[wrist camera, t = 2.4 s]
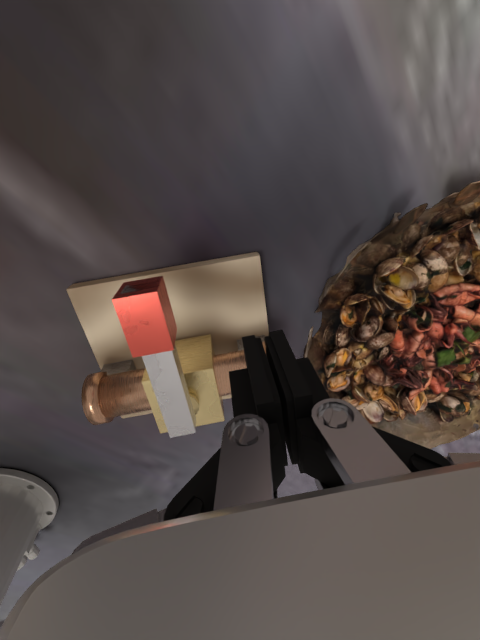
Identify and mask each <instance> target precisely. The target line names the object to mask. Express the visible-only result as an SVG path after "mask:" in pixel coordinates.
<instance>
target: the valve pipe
mask: <svg viewBox="0 0 480 640" xmlns="http://www.w3.org/2000/svg"><path fill="white" fill-rule="evenodd" d="M255 337H256V338H259V337H260V338H261V341H262V344H263V347H264V350H265V353H266V348H265V340H264V337H265V335H260V336H255ZM237 345H238V351H233V352H228V353H223V354H217V355H215V352H214V347H213V343H212V338H211V334H209V335H204V336H198V337H193V338H187V339H182V340H177V341H175V346H176V349H177V353H178V356H179V360H180V363H181V367H182V370H183V374H184V377H185V381H186V385H187V388H188V392H189V395H190V399H191V402H192V406H193V409H194V413H195V416H196V426H201V425H206V424H211V423H216V422H221V421H225V420H224V409H223V398H222V396H226V395H231V388H230V379H229V371H234V370H239V369H245V368H247V367H246V361H245V355H244V348H243V342H242V339H239V340H237ZM82 405H83V410H84V413H85V415H86V418H87V419H88V421H89V422H90V423H91V424H93V425H98V424H103V423H109V422H111V421H112V420H113V419H114V417H117V416H122V415H127V414H132V413H137V412H143V411H148V410H152V412H153V415H154V417H155V420H156V423H157V426H158V428H159V431H160V433H165V432H168V430H167V427H166V424H165V422H164V419H163V416H162V413H161V410H160V407H159V404H158V402H157V399H156V396H155V393H154V390H153V387H152V384H151V381H150V379H149V376H148V373H147V370H146V368H143V369H137V370H136V367H135V364H134V362H133V359H131V360H126V361H120V362H115V363H110V364H104V365H103V367H102V369H101V371H100V372H99V373H93V374H89V375H88V376H87V377H86V379H85V381H84V383H83V387H82Z"/></svg>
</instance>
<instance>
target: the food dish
mask: <svg viewBox="0 0 480 640" xmlns="http://www.w3.org/2000/svg"><path fill="white" fill-rule="evenodd" d="M427 206H428V203H426V204H423V205H420V206H419V207H417V208H414V209H413V210H411V211H410V212H408V213H406V214H405V215H404V216H403V217H402V218H401V219H400V220H399V219H398V216H399V215H401V213H395V214H394V217H393V219H392V220H391V223H390V224H389V225H388V226H387V227H386V228H385V229H384V230H383V231H381V232H379V233H378V234H376V235H375V236H374V237H373V238H372V239H371V240H369V241H367V242H365V243H363V244H360V245H359V246H358V247H357V248H356V249H354V251H352V252H351V253H350V255H349V256H348V257H347V262H346V265H345V267H344V268H343V269H342V270H341V271H340V272H339V273H338V274H336V275H335V276H333V277H331V278H329V279H328V281H327V282H326V284H325V287H324V290H323V292H322V295H321V296H320V298H319V307H318V309H317V310H316V311H315V312H320V311H322V323H321V327H320V329H319V330H318V332H317V333H316V335H315V336H314V337H313V338H312V332H313V326H312V328H311V329H310V332H309V336H308V342H307V345H306V346H305V350H304V355H303V356H304V358H306V357H307V358H309V360H310V362H311V363H312V365H313V367H314V369H315V371H316V373H317V375H318V376H319V378H320V380H321V382H322V384H323V386H324V388H325V389H326V391H327V393H328V395H329V397H330V398H334V399H341V400H345V401H347V402H349V403H351V404H352V405H353V406H354V407H355V408H356V409H357V410H358V411H359V412H360V413H361V414H362V416H363V417H364V418H365V419H366V420H367V421H368V423H369V424H370V425H371V426H373V427H375V428H378V429H381V430H383V431H386V432H388V433H391V434H393V435H396V436H398V437H401V438H403V439H406V440H408V441H411V442H413V443H416V444H419V445H421V446H424V447H426V448H429V449H431V448H433V447H436V446H438V445H440V444H445V443H449V442H452V441H455V440H458V439H461V438H463V437H465V436H467V435H469V434H470V433H473V432H475V431H477V430H479V429H480V181H478V182H473V183H470V184H469V185H467V186H466V187H465V188H463V189H462V190H461V191H460V192H457V193H453V194H451V195H449V196H448V197H446V198H444V199H442V200H441V201H440V202H439V203H437V204H436V205H434V206H433V207H432V208H429V209H426V207H427ZM425 209H426V210H425Z"/></svg>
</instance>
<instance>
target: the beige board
mask: <svg viewBox="0 0 480 640" xmlns="http://www.w3.org/2000/svg"><path fill="white" fill-rule="evenodd" d="M158 276H163V278H164V282H165V285H166V289H167V293H168V296H169V300H170V304H171V307H172V311H173V315H174V318H175V322H176V326H177V333H176V340H175V341H177V340H182V339H187V338H193V337H198V336H204V335H209V334H211V338H212V343H213V347H214V352H215V355H217V354H223V353H228V352H233V351H238V345H237V340H239V339H242V337H245V336H251V335H255V336H260V335H265V336H269V329H268V321H267V312H266V304H265V295H264V287H263V279H262V270H261V262H260V255H259V254H258V252H252V253H247V254H241V255H235V256H230V257H224V258H218V259H212V260H207V261H201V262H195V263H190V264H184V265H178V266H172V267H167V268H161V269H155V270H150V271H144V272H138V273H133V274H127V275H121V276H115V277H110V278H104V279H98V280H93V281H87V282H81V283H76V284H72V285H71V286H70V287H68V288H67V289H66V290H67V293H68V295H69V297H70V299H71V302H72V304H73V306H74V309H75V311H76V313H77V316H78V318H79V320H80V323H81V325H82V327H83V330H84V332H85V334H86V337H87V339H88V341H89V343H90V346H91V348H92V350H93V353H94V355H95V357H96V360H97V362H98V364H99V367H100V369H102V367H103V365H104V364H110V363H115V362H120V361H126V360H131V359H133V362H134V364H135V367H136V370H137V369H143V368H146V367H145V364H144V361H143V359H142V356H140V357H134V358H133V357H132V354H131V351H130V349H129V346H128V343H127V340H126V338H125V335H124V332H123V330H122V327H121V324H120V321H119V319H118V316H117V313H116V310H115V308H114V305H113V302H112V298H113V297H114V295H115V294H116V293H117V291H118V290H119V288H120V287H121V285H122V284H123V283H124V282H129V281H135V280H141V279H146V278H152V277H158ZM222 398H223V399H227V398H232V396H231V395H226V396H222ZM149 413H153V412H152V410H148V411H143V412H137V413H132V414H127V415H122V416H121V418H122V419H124V418H129V417H134V416H139V415H144V414H149Z"/></svg>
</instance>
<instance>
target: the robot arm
mask: <svg viewBox="0 0 480 640" xmlns="http://www.w3.org/2000/svg"><path fill="white" fill-rule="evenodd" d="M264 340H265V348H266V353H265V350H264V347H263V344H262V341H261V338H260V337H259V338H256V337H255V335H251V336H245V337H242V342H243V348H244V355H245V361H246V367H247V368H245V369H239V370H234V371H229V379H230V388H231V396H232V405H233V414H234V418H233V419H231V420H230V421H229V422H228V423H227V424H226V426H225V427H224V430H223V435H222V443H221V448H220V449H219V450H218V451H217V452H216V453H215V454H214V455H213V456H212V457H211V459H210V460H209V461H208V462H207V463H206V464H205V465H204V466H203V467H202V468H201V469H200V470H199V471H198V472H197V473H196V475H195V476H194V477H193V478H192V479H191V480H190V481H189V482H188V483H187V484H186V485H185V486H184V487H183V488H182V489H181V491H180V492H179V493H178V494H177V495H176V496H175V497H174V498H173V499H172V501H171V502H170V503H169V505H168V506H167V508H166V509H163V510H161V511H159V512H158V511H157V509H154V510H151V511H149V512H147V513H144V514H142V515H139V516H137V517H135V518H132V519H130V520H128V521H125V522H123V523H121V524H118V525H116V526H114V527H111V528H109V529H107V530H104V531H102V532H100V533H97V534H95V535H92V536H91V537H89V538H87V539H86V540H84V541H82V542H81V543H80V544H79V545H78V546H77V547H76V548H75V549H74V551H73V553H72V554H71V555H70V556H68V557H67V558H65V559H63V560H62V561H60V562H59V563H57V564H56V565H55V566H53V567H52V568H50V569H49V570H48V571H46V572H45V573H44V574H43V575H41V576H40V577H39V578H38V579H37V580H36V581H35V582H34V583H33V584H32V585H31V586H30V587H29V588H28V589H27V590H26V591H25V592H24V594H23V595H22V596H21V597H20V599H19V600H18V601H17V603H16V604H15V606H14V607H13V609H12V610H11V612H10V613H9V615H8V616H7V618H6V620H5V621H4V623H3V625H2V627H1V628H0V640H480V453H448V456H447V457H444V456H442V455H441V454H439V453H437V452H435V451H433V450H431V449H429V448H426V447H424V446H421V445H419V444H416V443H413V442H411V441H408V440H406V439H403V438H401V437H398V436H396V435H393V434H391V433H388V432H386V431H383V430H381V429H378V428H375V427H373V426H371V425H370V424H369V423H368V421H367V420H366V419H365V418H364V417H363V416H362V414H361V413H360V412H359V411H358V410H357V409H356V408H355V407H354V406H353V405H352V404H351V403H349V402H347V401H345V400H341V399H334V398H330V397H329V395H328V393H327V391H326V389H325V388H324V386H323V384H322V382H321V380H320V378H319V376H318V375H317V373H316V371H315V369H314V367H313V365H312V363H311V362H310V360H309V358H307V357H306V358H300V359H296V358H295V356H294V354H293V352H292V350H291V348H290V346H289V343H288V341H287V339H286V337H285V335H284V333H283V331H282V330H279V331H273V332H269V336H265V337H264ZM285 442H286V443H285ZM286 445H287V449H288V452H289V456H290V459H291V462H292V464H298V467H299V470H300V473H306V474H308V475H310V476H311V477H313V478H315V483H316V486H317V488H318V490H317V491H312V492H307V493H302V494H296V495H291V496H286V497H281V498H278V491H277V488H278V486H279V485H280V484H281V482H282V481H283V479H284V478H285V467H284V466H288V462H287V453H286ZM58 507H59V500H58V497H57V494H56V493H55V491H54V490H53V488H52V487H51V486H50V485H49V484H48V483H46V482H45V481H43V480H42V479H40V478H38V477H36V476H34V475H32V474H29V473H26V472H23V471H19V470H14V469H5V468H0V606H1V603H2V601H3V599H4V597H5V595H6V593H7V591H8V588H9V586H10V584H11V582H12V580H13V578H14V575H15V573H16V571H17V570H19V569H21V568H22V567H23V566H24V565H25V563H26V562H27V558H28V559H29V560H33V559H35V558H36V557H37V556H38V554H39V552H40V550H39V548H38V547H37V546H36V545H35V544H34V541H35V539H36V536H37V534H38V532H39V530H41V529H43V528H45V527H46V526H47V525H49V524H50V523H51V522H52V520H53V519H54V517H55V515H56V513H57V510H58Z"/></svg>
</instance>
